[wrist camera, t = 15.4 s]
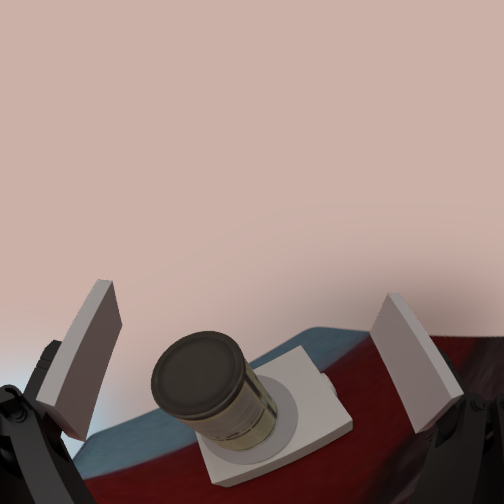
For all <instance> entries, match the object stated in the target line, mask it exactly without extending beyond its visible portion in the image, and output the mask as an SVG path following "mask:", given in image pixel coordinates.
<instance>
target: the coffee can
mask: <svg viewBox="0 0 504 504" xmlns="http://www.w3.org/2000/svg"><path fill="white" fill-rule="evenodd" d="M151 390H152V395H153V397H154V400H155V401H156V403H157V404H158V406H159V407H160V408H161V409H162V410H163V411H165V412H166V413H168V414H169V415H171V416H173V417H175V418H177V419H178V420H180V421H181V422H183V423H184V424H186V425H187V426H189V427H190V428H192V429H193V430H195V431H196V432H198V433H200V434H201V435H203V436H205V437H206V438H208V439H209V440H211V441H213V442H214V443H216V444H218V445H219V446H220V447H222V448H224V449H226V450H229V451H234V452H244V451H249V450H252V449H255V448H257V447H259V446H261V445H262V444H264V443H265V442H266V441H267V440H268V439H269V438H270V437H271V436H272V435H273V433H274V431H275V429H276V426H277V423H278V408H277V405H276V403H275V401H274V400H273V398H272V397H271V396H270V395H269V394H268V392H267V391H266V389H265V388H264V386H263V385H262V383H261V382H260V381H259V379H258V378H257V376H256V375H255V373H254V371H253V370H252V368H251V367H250V366H249V364H248V362H247V361H246V359H245V358H244V356H243V353H242V351H241V349H240V348H239V346H238V344H237V343H236V342H235V341H234V340H233V339H232V338H231V337H229V336H227V335H225V334H223V333H219V332H215V331H202V332H197V333H193V334H191V335H188V336H185V337H183V338H181V339H179V340H178V341H176V342H175V343H174V344H172V345H171V346H170V347H169V348H168V349H167V350H166V351H165V352H164V353H163V354H162V356H161V357H160V358H159V360H158V362H157V363H156V365H155V368H154V370H153V374H152V378H151Z"/></svg>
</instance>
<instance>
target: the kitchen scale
mask: <svg viewBox="0 0 504 504" xmlns="http://www.w3.org/2000/svg"><path fill="white" fill-rule="evenodd" d="M253 371H254V373H255V375H256V376H257V378H258V379H259V381H260V382H261V383H262V385H263V386H264V388H265V389H266V391H267V392H268V394H269V395H270V396H271V397H272V398H273V400H274V401H275V403H276V405H277V408H278V423H277V426H276V429H275V431H274V433H273V435H272V436H271V437H270V438H269V439H268V440H267V441H266V442H265V443H264V444H262V445H261V446H259V447H257V448H255V449H252V450H249V451H244V452H234V451H229V450H226V449H224V448H222V447H220V446H219V445H218V444H216V443H214V442H213V441H211V440H209V439H208V438H206V437H205V436H203V435H201V434H200V433H198V432H196V431H195V432H196V436H197V439H198V442H199V445H200V449H201V452H202V455H203V458H204V461H205V464H206V467H207V470H208V473H209V476H210V478H211V481H212V484H216V485H220V486H223V487H230V486H233V485H236V484H239V483H242V482H245V481H247V480H250V479H253V478H255V477H258V476H261V475H263V474H266V473H268V472H270V471H273V470H275V469H278V468H280V467H282V466H284V465H287V464H289V463H291V462H293V461H295V460H297V459H299V458H301V457H304V456H306V455H308V454H310V453H311V452H313V451H315V450H317V449H319V448H321V447H323V446H325V445H327V444H328V443H330V442H332V441H334V440H335V439H337V438H339V437H341V436H342V435H344V434H346V433H347V432H349V431H351V430H352V429H353V426H352V418H351V417H350V416H349V414H348V413H347V411H346V410H345V408H344V407H343V406H342V404H341V403H340V401H339V400H338V398H337V393H336V391H335V389H334V387H333V385H332V383H331V382H330V380H329V377H327V376H326V375H325V374H324V373H322V374H320V372H319V371H318V370H317V368H316V367H315V365H314V364H313V362H312V361H311V359H310V358H309V357H308V355H307V354H306V352H305V351H304V349H303V348H302V346H301V345H300V346H298V347H296V348H295V349H293V350H291V351H289V352H287V353H285V354H284V355H282V356H280V357H278V358H276V359H274V360H272V361H270V362H268V363H266V364H264V365H262V366H260V367H258V368H256V369H254V370H253Z"/></svg>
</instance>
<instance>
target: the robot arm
mask: <svg viewBox="0 0 504 504" xmlns="http://www.w3.org/2000/svg"><path fill="white" fill-rule="evenodd" d="M121 328H122V322H121V318H120V314H119V310H118V305H117V301H116V296H115V291H114V286H113V281H109V280H99V279H98V280H97V282H96V283H95V285H94V286H93V289H92V290H91V291H90V293H89V295H88V296H87V298H86V300H85V301H84V303H83V305H82V307H81V309H80V310H79V312H78V314H77V315H76V317H75V319H74V321H73V323H72V325H71V326H70V328H69V330H68V332H67V334H66V336H65V338H64V340H63V342H61V341H57V340H53V341H52V342H51V343H50V344H49V345H48V346H47V347H46V348H45V349H44V351H43V353H42V355H41V357H40V360H39V361H38V363H37V365H36V368H35V369H34V371H33V373H32V375H31V377H30V379H29V381H28V384H27V386H26V388H25V391H24V393H23V394H22V393H21V391H19V389H18V388H17V387H15V386H13V385H10V384H9V385H4V386H2V387H0V504H97V503H96V501H95V500H94V498H93V496H92V495H91V493H90V491H89V490H88V488H87V486H86V485H85V483H84V481H83V480H82V478H81V476H80V474H79V472H78V470H77V469H76V467H75V465H74V463H73V461H72V459H71V457H70V455H69V453H68V451H67V448H66V446H65V444H64V442H63V440H62V439H61V433H62V431H63V432H64V433H65V434H66V435H67V436H68V437H71V438H74V439H77V440H80V441H83V442H85V441H86V437H87V433H88V429H89V425H90V421H91V418H92V414H93V411H94V407H95V404H96V400H97V397H98V394H99V391H100V387H101V384H102V381H103V378H104V375H105V372H106V369H107V366H108V363H109V360H110V357H111V355H112V352H113V349H114V346H115V343H116V341H117V338H118V335H119V332H120V330H121ZM370 335H371V337H372V339H373V341H374V343H375V345H376V347H377V349H378V351H379V353H380V355H381V357H382V359H383V361H384V363H385V365H386V367H387V369H388V372H389V374H390V376H391V378H392V380H393V382H394V384H395V387H396V389H397V391H398V393H399V395H400V398H401V400H402V402H403V405H404V407H405V409H406V411H407V414H408V416H409V418H410V421H411V423H412V426H413V428H414V431H415V433H419V432H422V431H425V430H427V429H429V428H430V427H431V426H432V425H433V424H434V423H435V422H436V424H437V427H436V428H435V429H434V430H433V431H432V432H431V433H429V434H428V435H427V436H426V438H425V440H427V439H429V438H430V437H431V436H432V435H433V437H432V438H431V439H430V440H429V441H430V442H431V444H430V447H429V451H428V454H427V457H426V461H425V464H424V467H423V470H422V473H421V475H420V478H419V481H418V484H417V486H416V489H415V491H414V494H413V496H412V499H411V501H410V503H409V504H504V393H501V394H499V395H498V396H497V397H496V398H495V399H494V400H491V401H484V399H483V398H482V397H481V396H480V395H478V394H474V393H473V394H470V392H469V391H468V389H467V387H466V386H465V384H464V382H463V380H462V379H461V377H460V375H459V374H458V372H457V370H455V367H454V366H453V364H451V361H450V359H449V357H448V356H447V354H446V353H445V352H444V351H443V350H442V349H440V348H439V347H436V346H435V345H434V343H433V342H432V340H431V338H430V337H429V335H428V334H427V333H426V331H425V329H424V328H423V326H422V325H421V323H420V322H419V321H418V319H417V318H416V316H415V315H414V313H413V312H412V310H411V309H410V308H409V306H408V305H407V303H406V302H405V301H404V299H403V298H402V297H401V295H400V294H399V293H388V294H387V296H386V299H385V301H384V303H383V305H382V308H381V310H380V312H379V314H378V316H377V319H376V321H375V323H374V325H373V327H372V329H371V331H370ZM492 430H493V436H492V437H491V438H490V439H488V437H487V435H488V434H489V433H490V432H491V431H492Z"/></svg>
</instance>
